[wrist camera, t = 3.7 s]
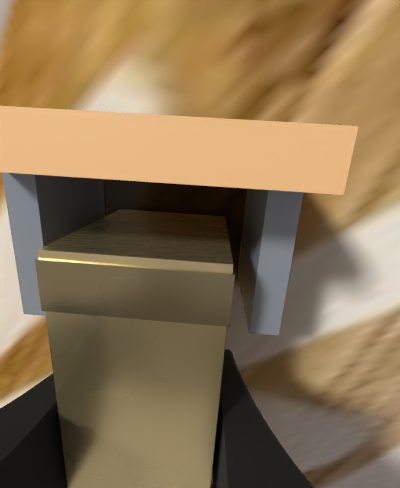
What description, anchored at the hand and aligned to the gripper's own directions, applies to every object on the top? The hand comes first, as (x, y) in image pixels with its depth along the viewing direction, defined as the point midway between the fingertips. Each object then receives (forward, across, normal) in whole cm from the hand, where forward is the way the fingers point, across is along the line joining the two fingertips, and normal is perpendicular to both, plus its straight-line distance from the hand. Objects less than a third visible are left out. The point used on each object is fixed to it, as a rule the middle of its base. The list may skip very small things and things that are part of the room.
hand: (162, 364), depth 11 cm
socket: (+2, 0, -6) cm, 6 cm away
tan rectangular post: (+2, 0, +3) cm, 3 cm away
